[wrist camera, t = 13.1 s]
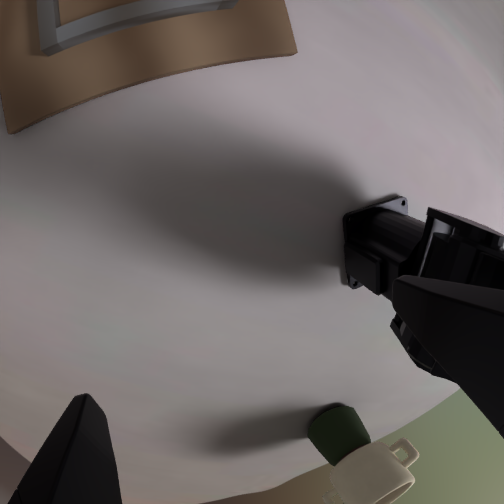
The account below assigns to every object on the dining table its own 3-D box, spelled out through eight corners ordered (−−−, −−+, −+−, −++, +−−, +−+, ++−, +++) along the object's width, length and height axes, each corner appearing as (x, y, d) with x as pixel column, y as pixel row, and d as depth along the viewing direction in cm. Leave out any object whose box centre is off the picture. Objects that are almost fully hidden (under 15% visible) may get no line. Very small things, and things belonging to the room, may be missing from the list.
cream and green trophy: (305, 452, 34) (352, 528, 22) (276, 438, 30) (327, 531, 19) (373, 399, 34) (434, 469, 22) (354, 379, 31) (426, 462, 19)
